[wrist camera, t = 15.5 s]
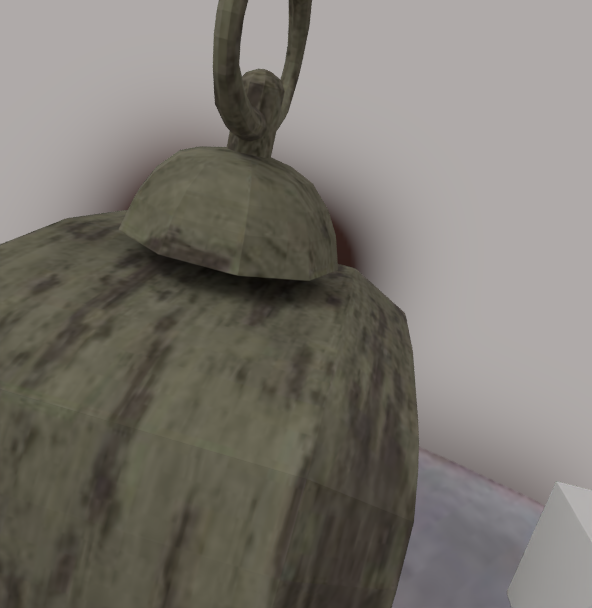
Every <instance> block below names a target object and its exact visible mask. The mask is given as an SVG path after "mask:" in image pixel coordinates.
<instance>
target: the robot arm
mask: <svg viewBox="0 0 592 608" xmlns="http://www.w3.org/2000/svg"><path fill="white" fill-rule="evenodd" d="M507 595H508V598H509V601H510V604H511V607H512V608H592V490H589V489H585V488H581V487H578V486H574V485H570V484H565V483H561V482H558V481H556V483H555V485H554V487H553V490H552V492H551V494H550V496H549V498H548V501H547V503H546V505H545V507H544V510H543V512H542V514H541V516H540V519H539V521H538V523H537V525H536V528H535V530H534V532H533V534H532V537H531V539H530V541H529V543H528V546H527V548H526V550H525V552H524V554H523V557H522V559H521V561H520V563H519V566H518V568H517V570H516V572H515V575H514V577H513V579H512V581H511V584H510V586H509V588H508V590H507Z"/></svg>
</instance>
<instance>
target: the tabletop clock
mask: <svg viewBox="0 0 592 608" xmlns="http://www.w3.org/2000/svg"><path fill="white" fill-rule="evenodd" d="M247 3H248V0H219V3H218V7H217V13H216V21H215V30H214V49H213V50H214V51H213V78H214V95H215V105H216V107H217V109H218V111H219V113H220V116H221V118H222V119H223V122H224V124H225V125H226V127H227V128H228V129H229V130H230V134H229V139H228V144H227V147H195V148H190V149H185V150H180V151H179V152H177V153H176V154H174V155H173V156H171V157H170V158H168V159H167V160H165V161H164V162H163V163H161V164H160V165H158V166H157V167H156V168H155V170H154V171H153V172H152V173H151V174H150V176H149V177H148V178H147V179H146V181H145V182H144V183H143V184H142V186H141V187H140V189H139V190H138V192H137V194H136V195H135V197H134V199H133V201H132V203H131V205H130V207H129V209H128V210H127V211H117V212H109V213H102V214H95V215H88V216H80V217H73V218H67V219H64V220H61V221H59V222H56V223H54V224H51V225H49V226H46V227H43V228H41V229H38V230H36V231H33V232H31V233H28V234H26V235H23V236H21V237H18V238H16V239H13V240H10V241H8V242H5V243H3V244H0V608H391V607H392V604H393V600H394V597H395V594H396V590H397V586H398V582H399V578H400V574H401V570H402V567H403V563H404V559H405V555H406V551H407V547H408V543H409V539H410V535H411V531H412V527H413V523H414V514H415V502H416V489H417V477H418V455H419V436H418V435H419V434H418V414H417V402H416V388H415V376H414V363H413V350H412V345H411V340H410V335H409V330H408V325H407V319H406V316H405V313H404V312H403V311H402V310H401V309H400V308H399V307H398V306H396V305H395V304H394V303H393V302H392V301H391V300H390V299H389V298H388V297H386V296H385V295H384V294H383V293H382V292H381V291H380V290H379V289H378V288H376V287H375V286H374V285H373V284H372V283H371V282H370V281H369V280H368V279H366V278H365V277H364V276H363V275H362V274H361V273H360V272H359V271H358V270H357V269H355V268H351V267H347V266H344V265H340V264H337V249H336V236H335V232H334V229H333V225H332V222H331V218H330V215H329V211H328V209H327V207H326V205H325V204H324V202H323V200H322V199H321V197H320V195H319V194H318V192H317V190H316V189H315V187H314V185H313V184H312V183H311V182H310V181H309V180H308V179H306V178H305V177H304V176H303V175H301V174H300V173H299V172H297V171H296V170H295V169H293V168H292V167H291V166H288V165H286V164H284V163H282V162H280V161H277V160H275V159H273V158H271V153H272V149H273V144H274V139H275V135H276V131H277V130H278V128H279V127H280V125H281V124H282V122H283V120H284V119H285V117H286V115H287V113H288V111H289V107H290V104H291V101H292V97H293V94H294V91H295V87H296V84H297V81H298V77H299V73H300V69H301V64H302V60H303V54H304V50H305V45H306V40H307V35H308V30H309V24H310V14H311V5H312V4H311V3H312V0H289V31H288V32H289V33H288V47H287V53H286V61H285V65H284V69H283V73H282V76H281V80H280V79H279V78H278V77H277V76H275V75H274V74H273V73H272V72H270V71H268V70H265V69H256V70H252V71H249V72H246V73H245V74H244V75H243V76H242V75H241V71H240V67H239V57H240V41H241V34H242V27H243V20H244V15H245V10H246V7H247Z"/></svg>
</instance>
